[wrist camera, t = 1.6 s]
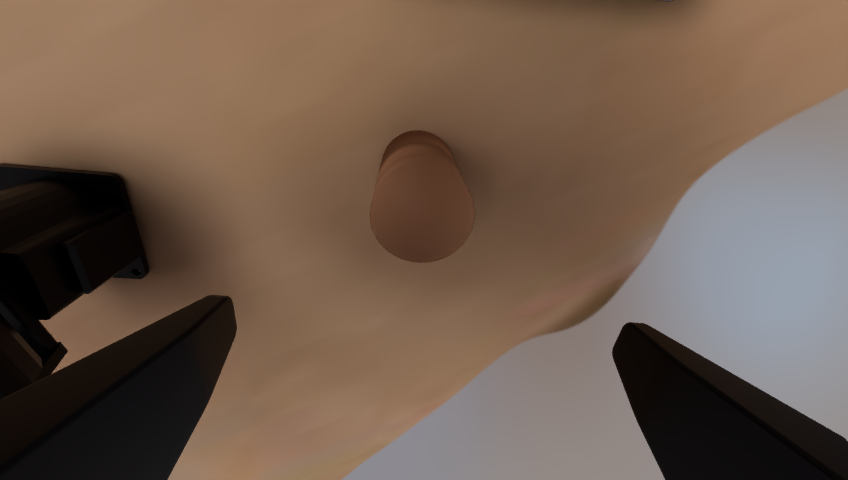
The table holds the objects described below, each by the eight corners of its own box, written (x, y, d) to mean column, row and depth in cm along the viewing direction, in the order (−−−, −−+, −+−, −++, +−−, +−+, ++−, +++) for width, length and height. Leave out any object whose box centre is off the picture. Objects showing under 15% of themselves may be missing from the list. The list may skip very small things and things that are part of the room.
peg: (379, 198, 20) (368, 258, 14) (383, 126, 19) (372, 160, 12) (447, 203, 21) (465, 265, 14) (458, 134, 19) (483, 171, 13)
